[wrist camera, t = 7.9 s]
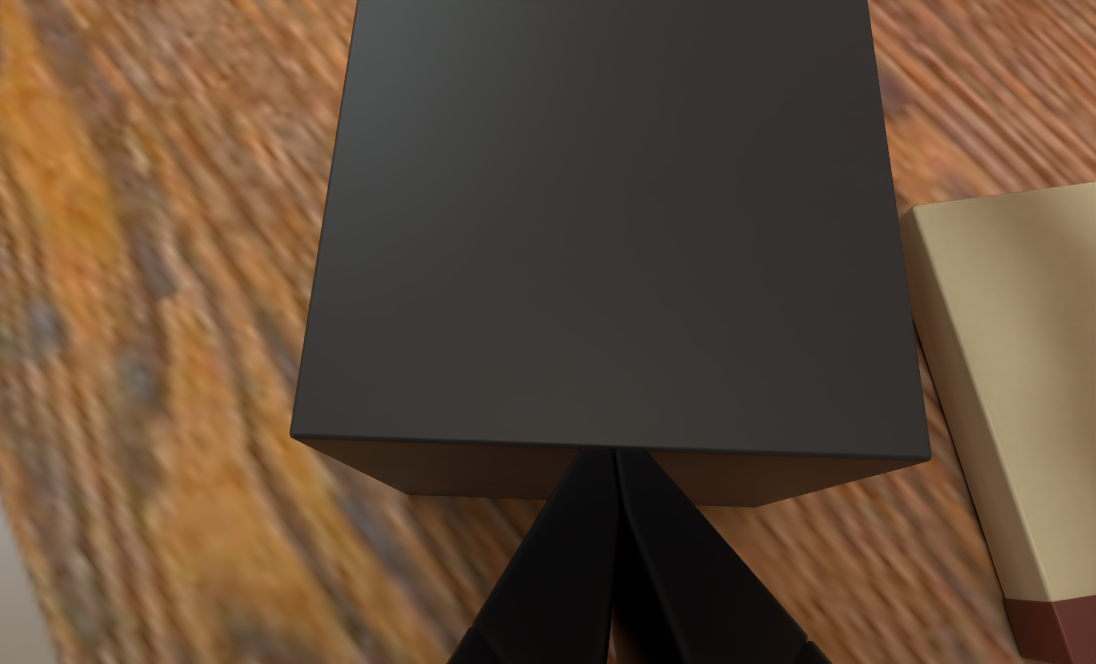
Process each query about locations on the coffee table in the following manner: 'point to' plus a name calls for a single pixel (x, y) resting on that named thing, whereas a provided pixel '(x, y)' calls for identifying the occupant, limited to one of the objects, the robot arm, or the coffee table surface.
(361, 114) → the block
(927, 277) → the notebook
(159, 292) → the coffee table surface
